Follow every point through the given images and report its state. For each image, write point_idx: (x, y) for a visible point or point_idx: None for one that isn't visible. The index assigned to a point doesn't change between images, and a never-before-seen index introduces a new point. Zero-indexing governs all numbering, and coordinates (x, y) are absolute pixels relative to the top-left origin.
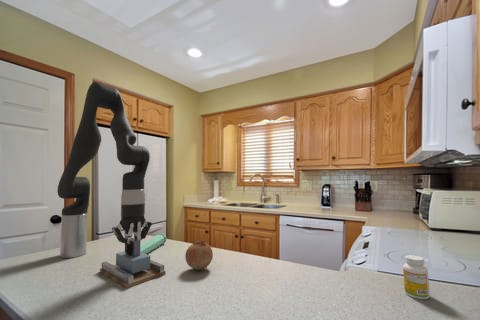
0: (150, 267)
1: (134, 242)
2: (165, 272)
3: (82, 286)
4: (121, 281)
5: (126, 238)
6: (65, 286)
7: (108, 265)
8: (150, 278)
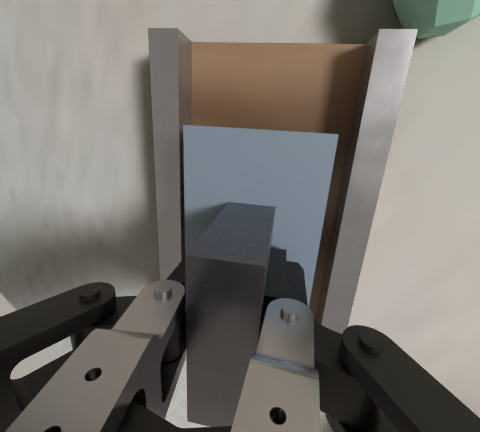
0: (321, 289)
1: (189, 412)
2: None
3: (71, 172)
4: None
5: (147, 325)
6: (22, 110)
7: (158, 135)
8: None
